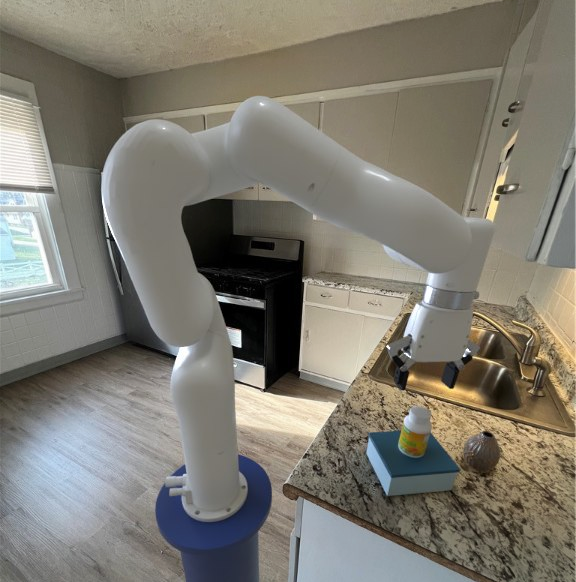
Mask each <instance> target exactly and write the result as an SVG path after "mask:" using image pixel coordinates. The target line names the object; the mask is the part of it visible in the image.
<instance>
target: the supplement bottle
mask: <svg viewBox="0 0 576 582" xmlns="http://www.w3.org/2000/svg"><path fill="white" fill-rule="evenodd" d="M431 419H432V413H431V411H430V410H429V409H427V408H426V407H423V406H419V405H414V406H412V407H410V409H409V413H408V414H407V415H406V416H405V417H404V419H403V422H402V427H401V430H400V431H401V435H400V439H399V443H398V447H399V449H400V451H401V452H402V453H403V454H405V455H407V456H409V457H413V458H419V457H421V456H423V455H424V453H425V450H426V447H427V443H428V440H429V436H430V433H432V429H433V425H432V422H431Z"/></svg>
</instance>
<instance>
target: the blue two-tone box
mask: <svg viewBox="0 0 576 582" xmlns="http://www.w3.org/2000/svg"><path fill="white" fill-rule="evenodd" d="M401 431H402V430H392V431H391V430H390V431H387V430H386V431H374V432H368V435H367V436H368V440H367V446H366V456H367V458H368V460H369V462H370V464H371V466H372V468H373V470H374V472H375V474H376V476H377V478H378V480H379V482H380V484H381V487H382V488H383V491H384V492H385V495H386V496H387V497H393V496H402V495H414V494H415V495H416V494H424V493H434V492H445V491H446V492H447V491H453V487H454V484H455V482H456V479H457V476H458V474H459V473H461V470H462V469H461V468H460V466H459V465H458V464H457V463H456V461H455V460H454V459H453V458H452V457H451V456H450V454H449V453H448V452H447V451H446V449H445V448H444V447H443V445H442V444H441V443H440V442H439V440H438V439H437V438H436V437H435V436H434V434H433V433H432V432H431V433H430V436H429V440H428V443H427V447H426V450H425V453H424V455H423V456H421V457H419V458H413V457H409V456H407V455H405V454H403V453H402V452H401V451H400V449H399V447H398V443H399V439H400V435H401Z"/></svg>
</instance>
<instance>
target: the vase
mask: <svg viewBox="0 0 576 582" xmlns="http://www.w3.org/2000/svg"><path fill="white" fill-rule="evenodd" d="M462 455H463V459H464V460H465V463H466V464H467V465H468V466H469V467H470V468H471V469H472V470H475V471H478V472H489V471H491V470H493V469H494V468H495V467H496V466H497V465H498V464H499V462H500V459H501V448H500V445H499V444H498V441H497V440H496V437H495V434H494V433H492V432H491V431H489V430H482V431H480V432H479V433H476V434H474V435H472V436H470V437H469V438H467V440H466V442H465V443H464V445H463V448H462Z"/></svg>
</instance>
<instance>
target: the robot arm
mask: <svg viewBox="0 0 576 582" xmlns="http://www.w3.org/2000/svg"><path fill="white" fill-rule="evenodd" d="M107 155H108V156H107V157H106V160H105V163H104V165H103V170H102V174H101V186H100V187H101V189H100V190H101V202H102V206H103V211H104V214H105V217H106V221H107V223H108V226H109V229H110V231H111V234H112V237H113V238H114V240H115V243H116V245H117V248H118V250H119V252H120V254H121V257H122V259H123V261H124V262H123V263H124V264H125V267H126V269H127V272H128V274H129V277H130V280H131V282H132V284H133V287H134V290H135V291H136V294H137V296H138V299H139V302H140V303H141V307H142V308H143V310H144V314H145V315H146V318H147V320H148V323H149V325H150V327H151V329H152V330H153V333H154V334H155V335H156V336H157V337H158V339H160V340H161V341H162V342H163V343H165V344H167V345H169V346H172V347H174V348H177V349H178V353H177V356H176V358H175V361H174V364H173V368H172V371H171V378H170V385H169V386H170V387H169V389H170V396H171V399H172V403H173V406H174V410H175V413H176V416H177V422H178V427H179V434H180V440H181V445H182V453H183V459H184V464H185V466H186V472H187V474H183V476H179V477H176V476H171V475H170V476H171V477H170V476H166V477H165V480H164V483H165V486H166V487H176V486H182V487H183V488H170V491H169V496H177V495H182V504H183V507H184V510H185V511H186V513H187V514H188V515H189V516H191V517H192V518H194V519H196V520H198V521H202V522H217V521H220V520H224V519H226V518H228V517H230V516H232V515H233V514H235V513H236V512H237V511H238V510H239V509H240V508H241V507H242V505H243V504H244V502H245V500H246V497H247V493H248V487H247V481H246V479H245V477H244V475H243V474H242V473H241V472H239V465H238V454H239V449H238V430H237V415H236V414H237V413H236V384H235V366H234V353H233V352H234V351H233V346H232V342H231V338H230V335H229V332H228V329H227V326H226V322H225V318H224V316H223V313H222V312H223V311H222V310H221V306H220V303H219V300H218V297H217V294H216V291H215V289H214V287H213V285H212V284H211V282H210V281H209V280H208V279H207V277H205V276H204V275H203V274H202V273H200V272H198V269H197V266H196V264H195V260H194V257H193V253H192V250H191V245H190V243H189V241H188V238H187V236H186V233H185V232H184V227H183V224H182V213H183V209H184V207H187V206H192V205H196V204H199V203H202V202H205V201H209V200H211V199H216V198H219V197H221V196H225V195H228V194H232V193H236V192H239V191H241V190H246V189H247V188H250V187H253V186H256V185H260V184H261V185H263V186H265V187H266V188H268V189H270V190H271V191H273V192H275V193H276V194H279V196H282V197H283V198H286V199H287V200H289V201H290V202H292V203H294V204H296V205H297V206H299V207H300V208H302V209H304V210H306V211H307V212H309V213H311V214H312V215H314V216H316V217H317V218H319V219H321V220H322V221H325V222H326V223H329V224H331V225H332V226H334V227H337V228H339V229H342V230H345V231H349V232H352V233H356V234H358V235H361V236H363V237H366V238H368V239H370V240H373V241H375V242H377V243H379V244H380V245H382V247H383V250H384V253H386V255H388V257H389V258H390V259H392V260H393V261H395V262H398V263H400V264H403V265H406V266H408V267H412V268H415V269H418V270H420V271H423V272H425V273H428V274H427V278H426V281H425V287H424V290H423V295H422V299H421V301H416V303H415V305H414V308H413V309H412V312H411V313H410V315H409V318H408V321H407V324H406V327H405V330H404V333H403V335H402V336H403V337H402V338H399V339H397V340H395V341H392V342H391V343H389V344H387V345H386V350H387V352H388V355H389V359H390V360H391V361H392V362H393V363H394V365H396V366H395V367H396V368H395V371H394V376H393V382H394V384H395V385H396V387H397V388H398V389H399V390H400V391H405V390H406V388H407V384H408V381H409V376H410V371H409V369H410V368H411V367H412V366H413V365H415V364H416V363H445V366H444V369H443V372H442V376H441V379H440V381H441V383H442V384H443V385H445V387H447V388H448V389H449V390H454V389H455V387H456V382H457V380H458V377H459V374H460V371H463V370H464V369H465V366H466V365H467V364H468V363H470V362H471V361H473V357H474V356H475V355H477V353H478V352H479V351H480V349H481V346H480V345H478V344H476V343H475V342H474V341H472V340H470V335H471V331H472V325H473V317H474V309H473V308H472V306H473V302H474V300H478V299H479V297H480V292H479V291H478V287H479V283H480V280H481V276H482V273H483V270H484V267H485V263H486V260H487V257H488V254H489V250H490V247H491V244H492V242H493V241H492V240H493V237H494V234H495V230H496V226H495V222H494V221H493V220H491V219H489V218H484V217H475V216H474V217H473V216H472V217H471V216H462V215H461V214H460V213H458V212H457V211H455V210H454V209H453V208H451V206H449V205H447V204H446V202H443V201H442V200H441V199H439V198H438V197H436V196H435V195H433V194H432V193H430V191H427V190H425V189H424V188H422V187H420V186H418V185H416V184H414V183H412V182H410V181H408V180H407V179H404V178H402V177H399V176H397V175H395V174H393V173H391V172H389V171H387V170H386V169H383V168H382V167H379V166H378V165H376V164H373V163H371V162H368V161H366V160H364V159H362V158H361V157H360V156H357V155H356V154H355V153H352V152H351V151H349V149H347V148H345V147H344V146H343V145H341V144H340V143H338V142H337V141H335V139H332V138H331V137H330V136H328V135H327V134H325V133H324V132H322V131H321V130H319V129H318V128H317V127H315V126H314V125H313V124H311V123H310V122H308V121H307V120H306V119H304V118H303V117H301V115H299V114H297V113H296V112H294V111H293V110H291V109H290V108H289V107H287V106H285V105H284V104H283V103H280V102H279V101H277V100H276V99H273V98H271V97H268V96H265V95H254V96H251V97H248V98H247V99H245V100H244V101H243V102H242V103H240V104H239V106H238V107H236V109H235V111H234V112H233V115H231V118H230V121H229V122H226V123H224V124H220V125H218V126H214V127H210V128H208V129H204V130H201V131H197V132H192V133H190V132H189V131H188V130H186V129H185V128H184V127H182V126H181V125H179V124H177V123H175V122H172V121H170V120H166V119H160V118H159V119H157V118H155V119H154V118H153V119H148V120H144V121H142V122H138V123H137V124H135V125H133V126H132V127H130V128H129V129H128V130H127V131H125V132H124V133H123V134H122V135H121V136H120V137H119V139H118V140H117V141H116V142H115V143H114V145H113V147H112V148H111V150H110V151H109V154H107ZM400 350H401V351H402V353H401V354H400V355H399V351H400Z"/></svg>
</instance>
